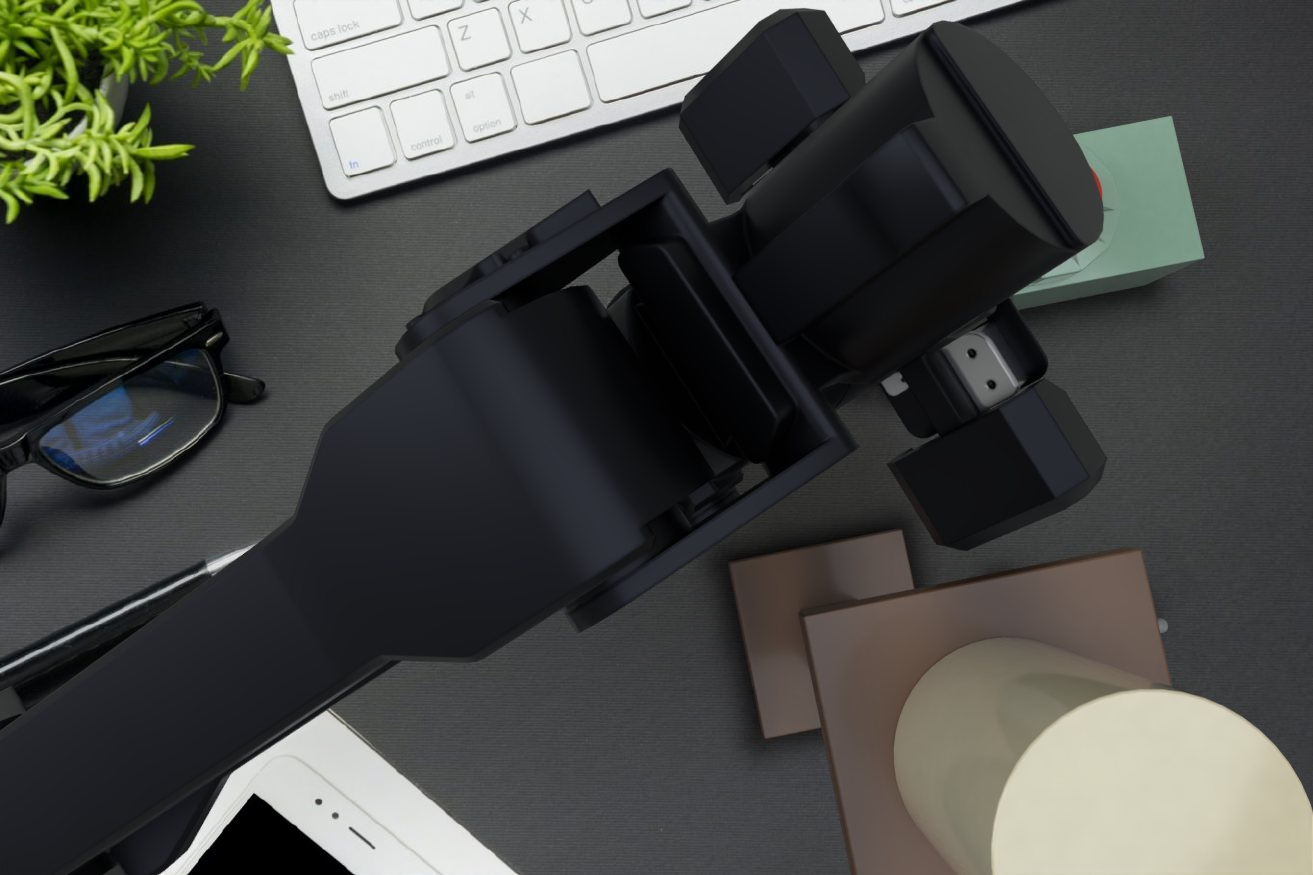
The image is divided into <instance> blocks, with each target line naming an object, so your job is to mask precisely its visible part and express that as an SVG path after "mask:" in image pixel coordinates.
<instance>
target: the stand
mask: <svg viewBox="0 0 1313 875" xmlns="http://www.w3.org/2000/svg"><path fill="white" fill-rule="evenodd" d="M1144 557H1145V556H1144V553H1143V550H1142V549H1141V548H1136V547H1125V546H1124V547H1119V548H1112V549H1107V550H1104V551H1098V552H1094V553H1088V554H1082V555H1079V556H1073V557H1068V558H1063V559H1058V560H1052V561H1049V562H1043V563H1037V564H1033V565H1028V566H1023V567H1019V568H1018V567H1017V568H1012V569H1007V570H1002V571H998V572H997V571H996V572H992V573H987V574H982V575H977V576H972V577H967V578H962V579H957V580H951V581H947V582H946V581H945V582H942V583H937V584H932V585H926V586H921V587H918V588H916V587H915V583H914V578H913V574H912V569H911V564H910V558H909V554H908V550H907V546H906V540H905V536H904V531H903V529H901V528H893V529H887V530H883V531H877V532H872V533H867V534H863V535H858V536H852V537H847V538H842V539H837V540H831V541H826V542H822V543H816V544H812V545H805V546H802V547H796V548H792V549H786V550H782V551H776V552H772V553H771V552H770V553H766V554H760V555H756V556H750V557H745V558H740V559H736V560H731V561H728V562H727V565H728V571H729V575H730V581H731V585H732V590H733V595H734V601H735V607H736V610H737V615H738V620H739V625H740V630H741V636H742V641H743V646H744V652H745V657H746V661H747V666H748V671H749V676H750V681H751V686H752V690H753V692H752V693H753V696H754V702H755V706H756V712H757V716H758V717H757V718H758V721H759V726H760V731H761V734H762V737H763V739H764V740H768V739H773V738H779V737H784V736H789V735H794V734H798V733H799V734H800V733H803V732H809V731H814V730H818V729H820V730H821V733H822V739H823V743H824V749H825V754H826V759H827V763H828V768H829V773H830V774H829V775H830V777H831V783H832V787H833V788H832V789H833V793H834V799H835V804H836V807H837V812H838V818H839V823H840V827H841V832H842V838H843V842H844V847H845V853H846V857H847V862H848V867H849V872H850V875H956V874H955V872H954V871H953V870H952V869H951V867H950V866H949V865H948V864H947V863H946V861H945V860H944V859H943V858H942V857H941V855H940V854H939V853H938V852H937V851H936V849H935V848H934V847H933V846H932V845H931V843H930V842H929V841H928V840H927V838H926V837H925V836H924V835H923V834H922V832H921V831H920V830H919V828H918V827H917V826H916V824H915V823H914V821H913V820H912V818H911V816H910V814H909V813H908V811H907V809H906V807H905V805H904V802H903V800H902V797H901V795H900V792H899V788H898V784H897V781H896V775H895V768H894V741H895V733H896V729H897V725H898V721H899V717H900V714H901V712H902V709H903V707H904V704H905V702H906V700H907V699H908V697H909V695H910V693H911V691H912V690H913V688H914V687H915V686H916V684H917V683H918V682H919V680H920V679H921V678H922V676H923V675H924V674H925V673H926V672H927V671H928V670H929V669H930V668H931V667H932V666H933V665H935V664H936V663H937V662H939V661H940V660H941V659H942V658H944V657H945V656H947V655H949V654H950V653H952V652H954V651H955V650H957V649H959V648H962V647H964V646H966V645H969V644H971V643H975V642H979V641H982V640H986V639H993V638H1001V637H1013V638H1024V639H1031V640H1035V641H1039V642H1043V643H1046V644H1049V645H1052V646H1055V647H1058V648H1061V649H1064V650H1067V651H1070V652H1073V653H1075V654H1078V655H1081V656H1084V657H1087V658H1090V659H1093V660H1096V661H1099V662H1102V663H1105V664H1108V665H1111V666H1113V667H1116V668H1119V669H1122V670H1125V671H1128V672H1131V673H1134V674H1137V675H1140V676H1143V677H1146V678H1148V679H1151V680H1154V681H1157V682H1160V683H1163V684H1166V685H1169V686H1172V687H1173V682H1172V678H1171V674H1170V670H1169V665H1168V661H1167V656H1166V651H1165V648H1164V642H1163V637H1162V633H1160V629H1159V624H1158V620H1157V618H1158V615H1157V612H1156V606H1155V603H1154V602H1155V601H1154V598H1153V594H1152V589H1151V584H1150V580H1149V575H1148V571H1147V567H1146V561H1145V558H1144Z"/></svg>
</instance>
